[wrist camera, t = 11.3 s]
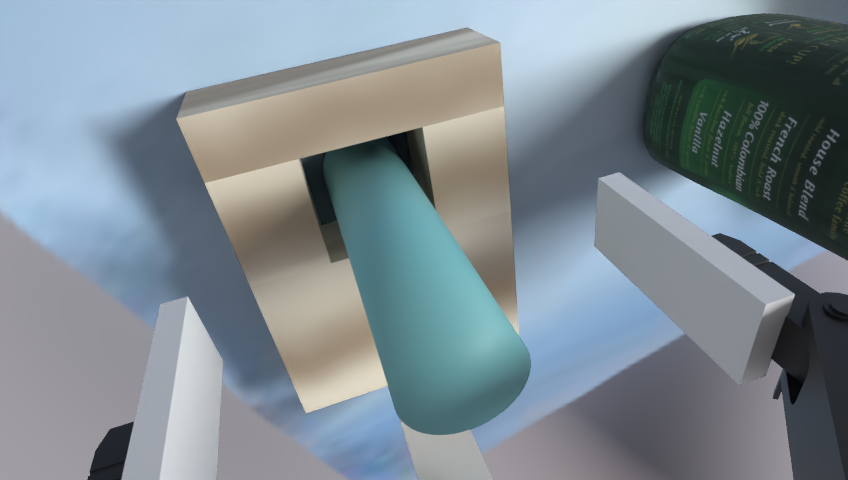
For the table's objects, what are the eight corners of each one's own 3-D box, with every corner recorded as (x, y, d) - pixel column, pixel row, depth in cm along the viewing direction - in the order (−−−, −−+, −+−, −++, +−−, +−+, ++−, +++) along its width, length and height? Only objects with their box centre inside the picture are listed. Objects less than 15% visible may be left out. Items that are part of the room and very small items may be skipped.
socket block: (186, 91, 20) (176, 118, 17) (467, 27, 22) (499, 42, 19) (300, 365, 29) (305, 413, 26) (494, 303, 31) (519, 341, 28)
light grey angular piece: (292, 294, 27) (334, 650, 13) (470, 240, 28) (664, 513, 15) (326, 383, 30) (385, 727, 17) (481, 331, 32) (643, 611, 19)
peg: (313, 141, 23) (379, 358, 11) (390, 121, 23) (527, 308, 12) (334, 209, 25) (408, 452, 13) (404, 189, 25) (533, 406, 14)
